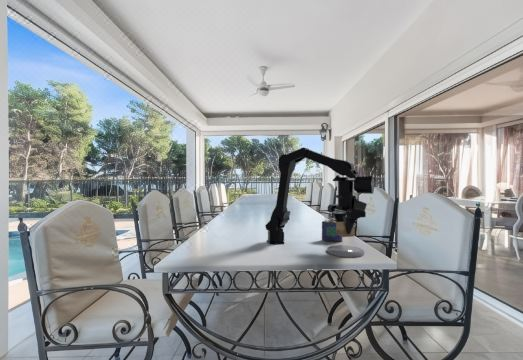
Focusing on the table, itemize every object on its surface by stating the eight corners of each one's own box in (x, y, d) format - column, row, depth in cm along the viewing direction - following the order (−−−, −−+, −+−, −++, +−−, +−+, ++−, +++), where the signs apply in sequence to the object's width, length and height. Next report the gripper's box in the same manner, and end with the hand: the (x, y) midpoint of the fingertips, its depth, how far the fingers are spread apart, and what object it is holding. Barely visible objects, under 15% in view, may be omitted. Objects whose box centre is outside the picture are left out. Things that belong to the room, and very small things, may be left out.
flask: (342, 240, 131) (342, 217, 130) (342, 242, 128) (342, 218, 127) (322, 239, 133) (321, 216, 133) (321, 241, 130) (321, 217, 130)
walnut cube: (342, 237, 109) (343, 224, 109) (336, 234, 114) (336, 221, 114) (354, 236, 110) (354, 223, 110) (347, 233, 115) (347, 221, 115)
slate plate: (338, 258, 104) (338, 255, 103) (321, 248, 117) (321, 246, 117) (371, 255, 107) (371, 252, 107) (351, 246, 121) (351, 243, 121)
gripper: (378, 194, 104) (378, 236, 105) (350, 190, 122) (350, 226, 123) (351, 194, 102) (351, 238, 102) (327, 191, 120) (326, 228, 120)
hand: (345, 232), depth 112 cm, fingers closed on walnut cube, 5 cm apart
